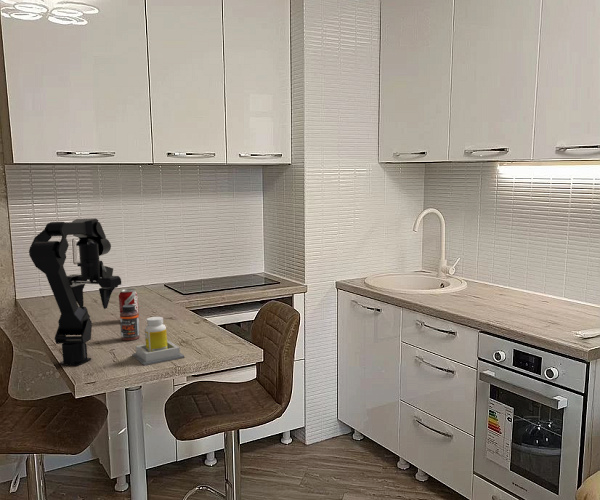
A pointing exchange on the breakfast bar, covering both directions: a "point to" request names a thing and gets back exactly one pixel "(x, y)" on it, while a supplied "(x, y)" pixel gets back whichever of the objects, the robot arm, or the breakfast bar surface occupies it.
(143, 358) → the socket block
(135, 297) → the soda can
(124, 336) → the supplement bottle
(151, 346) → the pill bottle
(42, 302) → the breakfast bar surface
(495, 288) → the breakfast bar surface
